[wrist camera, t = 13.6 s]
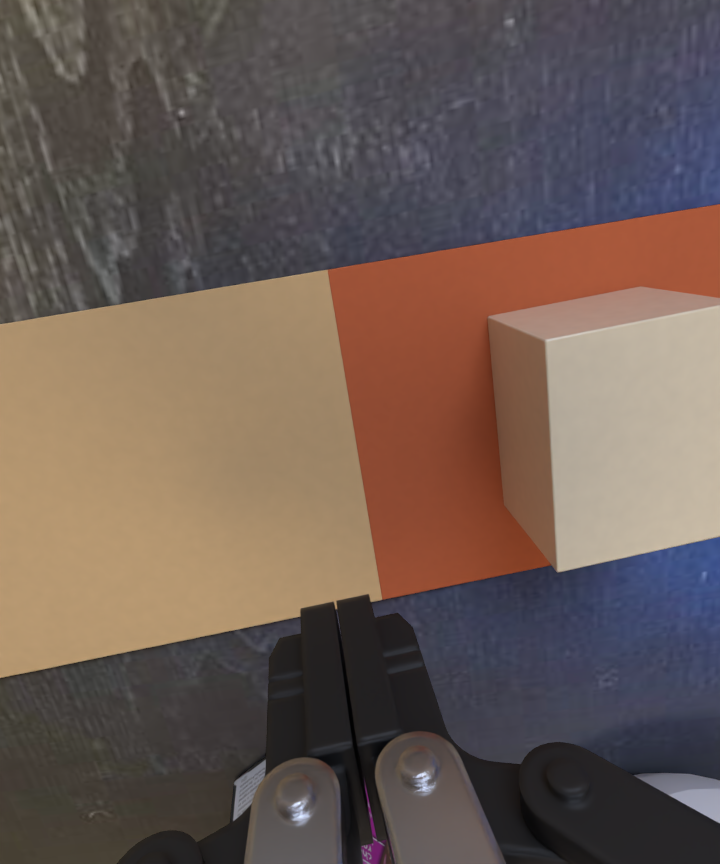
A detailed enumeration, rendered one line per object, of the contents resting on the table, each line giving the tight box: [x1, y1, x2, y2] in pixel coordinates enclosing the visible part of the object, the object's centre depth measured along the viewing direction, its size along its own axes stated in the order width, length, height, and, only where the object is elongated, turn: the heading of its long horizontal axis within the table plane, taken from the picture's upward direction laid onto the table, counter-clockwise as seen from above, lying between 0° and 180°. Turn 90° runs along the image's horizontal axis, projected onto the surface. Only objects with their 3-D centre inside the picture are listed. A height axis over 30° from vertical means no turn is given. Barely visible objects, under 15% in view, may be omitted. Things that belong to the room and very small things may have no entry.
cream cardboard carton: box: [487, 286, 720, 572], centre depth 20 cm, size 6×8×5 cm
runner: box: [0, 204, 720, 678], centre depth 22 cm, size 40×14×1 cm, turn 99°
